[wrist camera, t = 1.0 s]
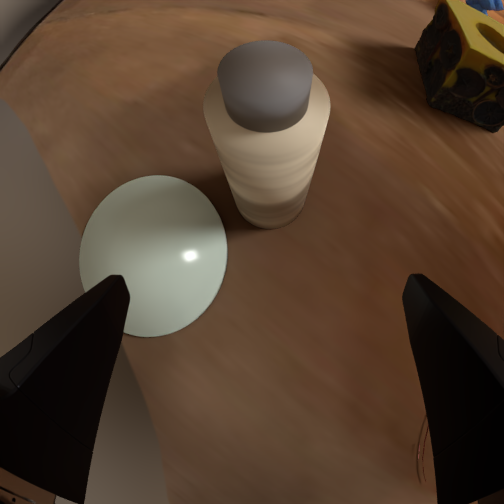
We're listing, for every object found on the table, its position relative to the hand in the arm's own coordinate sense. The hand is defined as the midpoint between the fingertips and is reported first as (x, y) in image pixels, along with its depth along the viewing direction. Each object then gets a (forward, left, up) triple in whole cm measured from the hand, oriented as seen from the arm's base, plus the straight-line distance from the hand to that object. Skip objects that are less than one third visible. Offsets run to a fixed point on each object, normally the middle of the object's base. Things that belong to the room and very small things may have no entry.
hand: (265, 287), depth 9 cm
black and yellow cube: (+21, -24, -14) cm, 34 cm away
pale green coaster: (+4, +9, -14) cm, 17 cm away
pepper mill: (+8, -1, -14) cm, 16 cm away
